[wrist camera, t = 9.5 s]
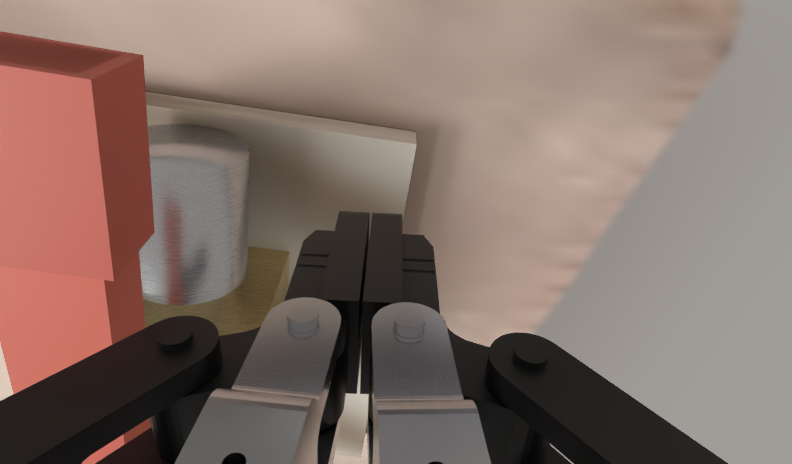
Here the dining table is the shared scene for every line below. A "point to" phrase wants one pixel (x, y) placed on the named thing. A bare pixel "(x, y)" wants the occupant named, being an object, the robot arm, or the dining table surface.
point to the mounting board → (307, 185)
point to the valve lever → (71, 206)
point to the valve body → (205, 234)
